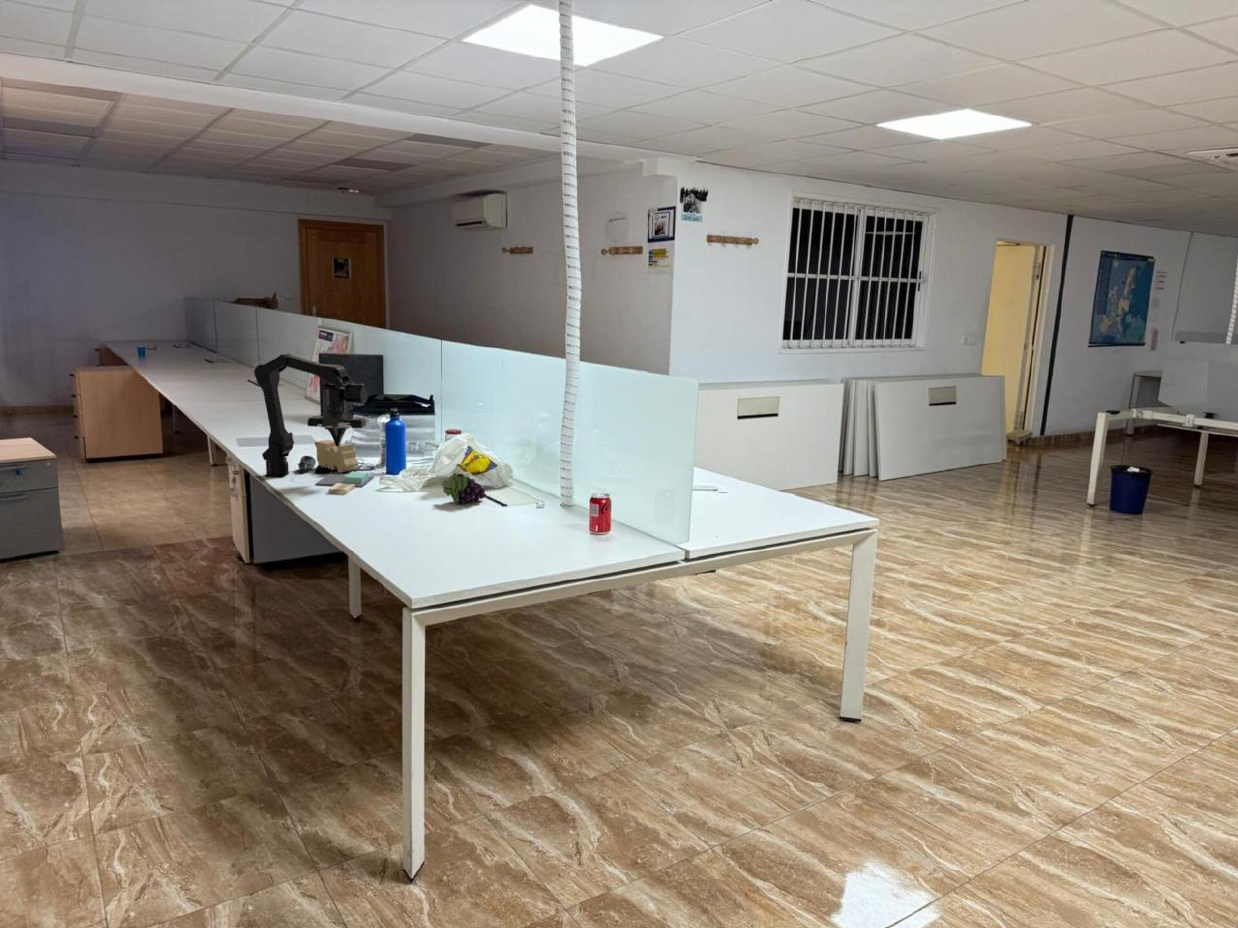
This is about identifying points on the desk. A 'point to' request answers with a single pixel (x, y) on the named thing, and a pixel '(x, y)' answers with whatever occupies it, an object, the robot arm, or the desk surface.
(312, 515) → the desk surface
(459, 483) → the fruit
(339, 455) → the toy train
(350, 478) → the teal slab
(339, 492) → the birch slab
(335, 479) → the mat
